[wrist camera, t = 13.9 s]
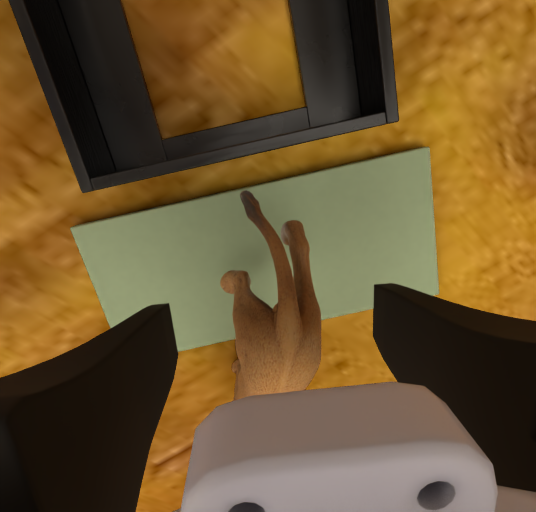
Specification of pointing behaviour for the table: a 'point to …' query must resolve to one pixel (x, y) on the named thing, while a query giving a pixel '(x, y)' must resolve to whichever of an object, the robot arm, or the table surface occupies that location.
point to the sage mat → (257, 250)
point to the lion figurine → (275, 316)
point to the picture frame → (215, 139)
